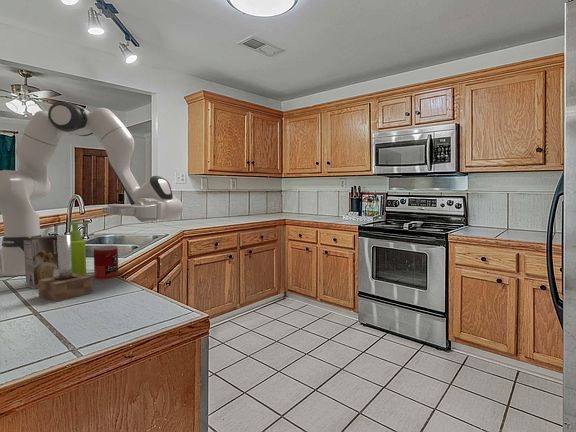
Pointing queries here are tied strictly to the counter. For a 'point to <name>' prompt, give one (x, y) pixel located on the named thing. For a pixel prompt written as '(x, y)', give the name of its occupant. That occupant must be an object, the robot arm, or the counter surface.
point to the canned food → (105, 262)
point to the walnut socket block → (65, 287)
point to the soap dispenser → (78, 250)
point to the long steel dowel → (64, 257)
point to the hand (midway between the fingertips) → (111, 211)
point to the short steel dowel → (55, 272)
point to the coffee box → (39, 258)
